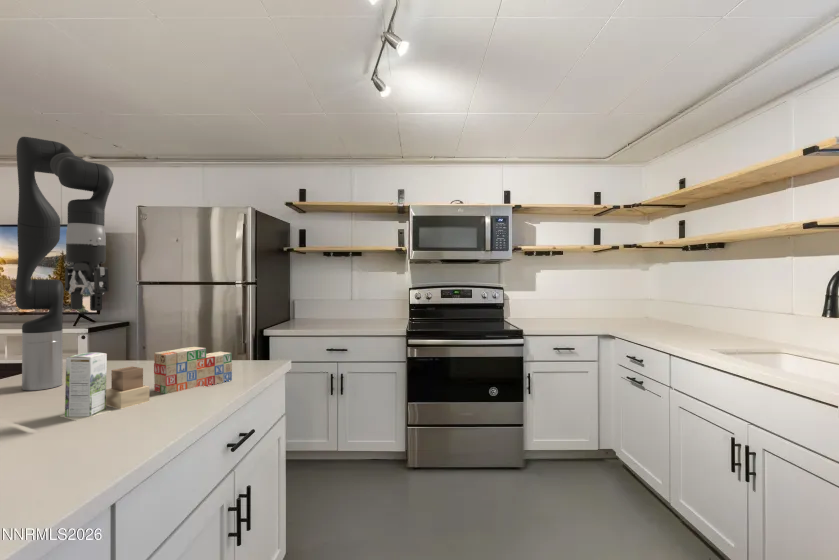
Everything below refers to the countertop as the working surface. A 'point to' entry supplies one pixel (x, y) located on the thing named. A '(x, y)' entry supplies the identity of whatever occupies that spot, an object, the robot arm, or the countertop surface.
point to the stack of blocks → (190, 369)
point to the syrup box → (85, 384)
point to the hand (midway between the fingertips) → (86, 309)
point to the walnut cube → (127, 378)
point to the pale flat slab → (94, 414)
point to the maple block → (127, 397)
